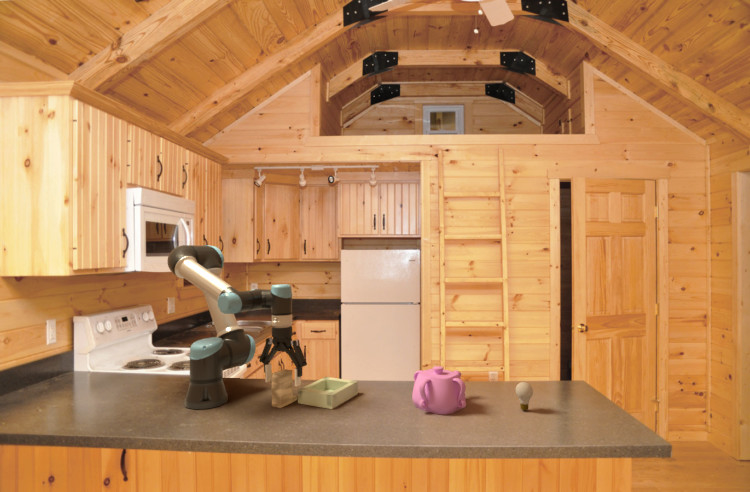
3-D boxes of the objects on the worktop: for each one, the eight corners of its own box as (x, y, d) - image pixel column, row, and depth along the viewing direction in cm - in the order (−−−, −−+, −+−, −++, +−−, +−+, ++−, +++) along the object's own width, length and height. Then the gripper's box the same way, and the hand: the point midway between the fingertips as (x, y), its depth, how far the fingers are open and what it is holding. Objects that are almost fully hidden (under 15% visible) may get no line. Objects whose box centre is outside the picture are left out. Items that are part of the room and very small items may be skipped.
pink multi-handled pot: (413, 415, 153) (412, 373, 153) (411, 395, 173) (411, 359, 174) (469, 416, 152) (468, 374, 152) (461, 396, 172) (460, 359, 173)
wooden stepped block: (271, 406, 162) (271, 373, 163) (288, 398, 171) (288, 367, 171) (280, 408, 161) (280, 374, 161) (297, 399, 170) (297, 368, 170)
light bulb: (533, 408, 158) (532, 380, 158) (533, 414, 152) (533, 385, 153) (515, 407, 160) (515, 379, 160) (515, 412, 154) (515, 383, 154)
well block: (297, 403, 166) (297, 389, 166) (325, 388, 183) (325, 376, 183) (331, 409, 159) (331, 395, 159) (357, 393, 176) (357, 381, 176)
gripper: (249, 325, 167) (250, 382, 167) (303, 329, 156) (304, 390, 156) (262, 322, 174) (263, 377, 173) (315, 326, 163) (316, 384, 162)
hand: (283, 383), depth 165 cm, fingers open, 13 cm apart
